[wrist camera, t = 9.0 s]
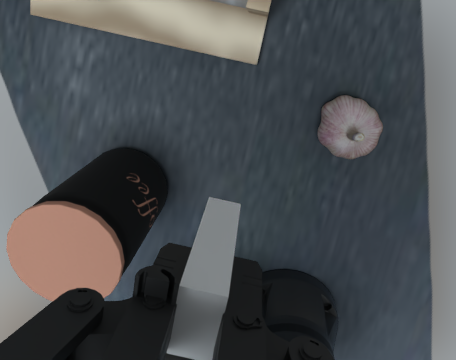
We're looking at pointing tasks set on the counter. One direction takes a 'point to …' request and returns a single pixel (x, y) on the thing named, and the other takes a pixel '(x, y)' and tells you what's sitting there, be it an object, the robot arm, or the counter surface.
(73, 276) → the coffee jar
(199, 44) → the pipe stand
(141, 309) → the robot arm
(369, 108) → the garlic bulb
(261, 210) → the counter surface
